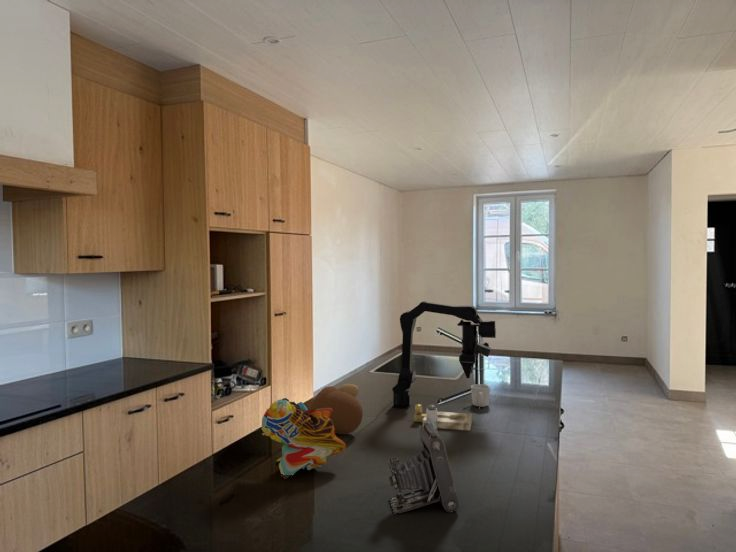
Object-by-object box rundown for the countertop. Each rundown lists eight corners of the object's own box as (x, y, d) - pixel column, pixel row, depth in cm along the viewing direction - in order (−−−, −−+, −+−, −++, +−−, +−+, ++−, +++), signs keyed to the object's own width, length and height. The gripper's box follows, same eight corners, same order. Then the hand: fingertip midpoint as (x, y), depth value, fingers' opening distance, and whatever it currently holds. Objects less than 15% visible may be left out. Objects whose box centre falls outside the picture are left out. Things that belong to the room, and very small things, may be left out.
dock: (422, 426, 187) (422, 420, 187) (427, 417, 199) (427, 410, 199) (469, 430, 183) (469, 423, 183) (472, 420, 194) (472, 413, 194)
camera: (391, 511, 132) (371, 438, 131) (453, 491, 133) (434, 419, 132) (398, 534, 121) (376, 454, 120) (465, 512, 123) (444, 434, 121)
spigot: (425, 432, 181) (425, 406, 181) (427, 429, 185) (427, 403, 185) (436, 433, 180) (436, 407, 180) (438, 429, 184) (438, 404, 184)
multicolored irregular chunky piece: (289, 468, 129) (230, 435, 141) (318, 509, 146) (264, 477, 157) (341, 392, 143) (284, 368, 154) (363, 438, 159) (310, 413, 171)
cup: (490, 410, 207) (490, 391, 207) (470, 409, 209) (470, 390, 208) (489, 403, 218) (489, 384, 217) (470, 402, 219) (470, 383, 219)
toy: (304, 441, 186) (347, 461, 175) (287, 416, 176) (332, 436, 165) (339, 391, 199) (381, 407, 188) (325, 365, 189) (369, 380, 178)
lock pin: (414, 421, 193) (414, 405, 193) (415, 419, 196) (415, 403, 195) (430, 422, 191) (429, 406, 191) (431, 420, 194) (431, 404, 194)
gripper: (488, 341, 194) (488, 382, 194) (491, 334, 211) (491, 371, 212) (458, 340, 197) (458, 380, 197) (464, 333, 215) (464, 370, 215)
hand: (469, 375), depth 205 cm, fingers open, 9 cm apart
